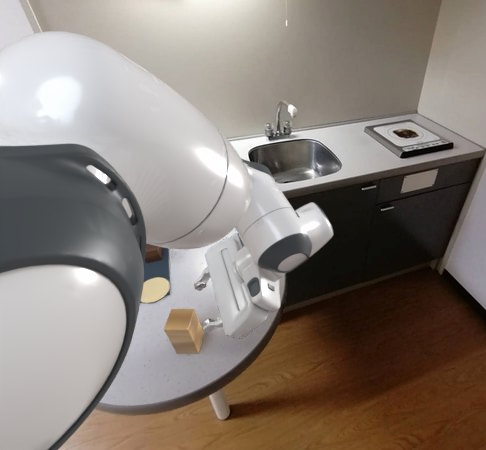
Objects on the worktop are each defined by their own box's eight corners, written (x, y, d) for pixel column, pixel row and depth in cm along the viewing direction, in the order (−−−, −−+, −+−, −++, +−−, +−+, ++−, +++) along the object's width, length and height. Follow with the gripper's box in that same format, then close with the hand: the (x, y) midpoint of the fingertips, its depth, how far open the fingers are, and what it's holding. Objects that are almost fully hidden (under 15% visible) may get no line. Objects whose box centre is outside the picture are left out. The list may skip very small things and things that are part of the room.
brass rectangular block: (198, 353, 69) (187, 329, 62) (176, 353, 69) (163, 329, 62) (204, 333, 72) (194, 308, 66) (183, 333, 72) (171, 308, 66)
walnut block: (162, 259, 90) (157, 249, 87) (146, 263, 89) (140, 253, 86) (162, 250, 93) (157, 239, 91) (146, 253, 92) (141, 242, 90)
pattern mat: (170, 298, 80) (170, 297, 80) (102, 316, 76) (101, 315, 76) (168, 233, 100) (168, 232, 99) (114, 245, 96) (114, 244, 96)
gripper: (232, 222, 62) (180, 260, 64) (263, 306, 49) (197, 352, 50) (250, 235, 67) (202, 271, 68) (283, 315, 54) (222, 357, 55)
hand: (200, 306), depth 59 cm, fingers open, 8 cm apart
